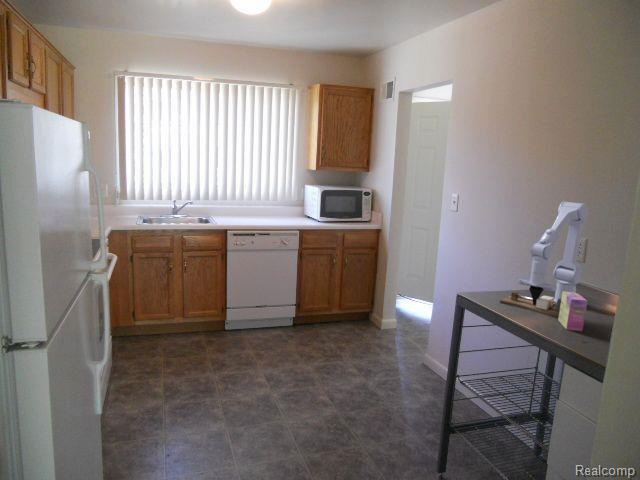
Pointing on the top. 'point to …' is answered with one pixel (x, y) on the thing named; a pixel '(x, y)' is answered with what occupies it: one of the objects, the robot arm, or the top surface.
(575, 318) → the box
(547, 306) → the sleeve
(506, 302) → the guide board
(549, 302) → the stop band
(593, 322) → the top surface
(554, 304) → the guide rod
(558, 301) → the end block
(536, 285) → the robot arm
